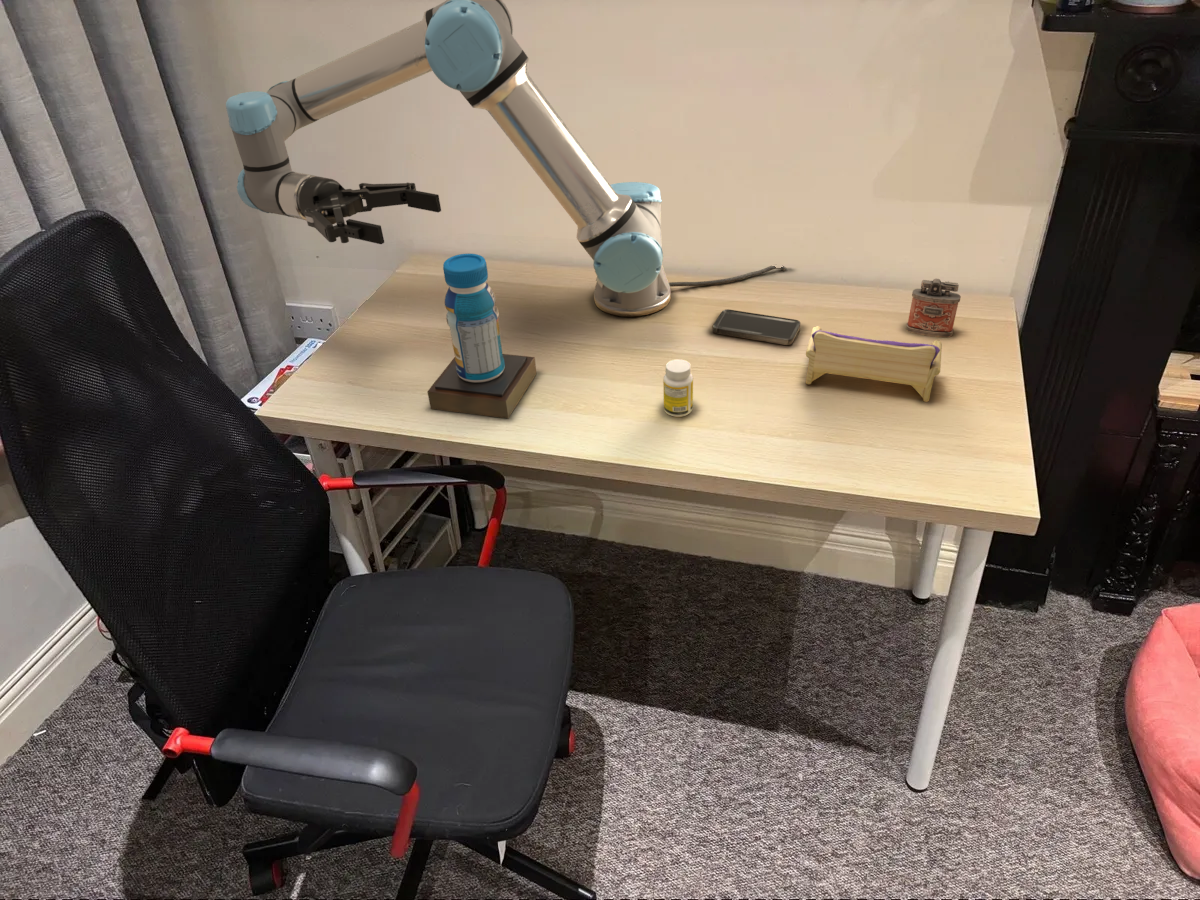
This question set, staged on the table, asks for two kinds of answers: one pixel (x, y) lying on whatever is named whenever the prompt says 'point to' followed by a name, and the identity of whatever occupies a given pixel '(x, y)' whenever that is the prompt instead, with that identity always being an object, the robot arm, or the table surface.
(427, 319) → the table surface
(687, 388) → the supplement bottle
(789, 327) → the phone
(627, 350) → the table surface
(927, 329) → the lighter
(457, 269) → the beverage bottle
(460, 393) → the walnut stand
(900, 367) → the toy sofa
